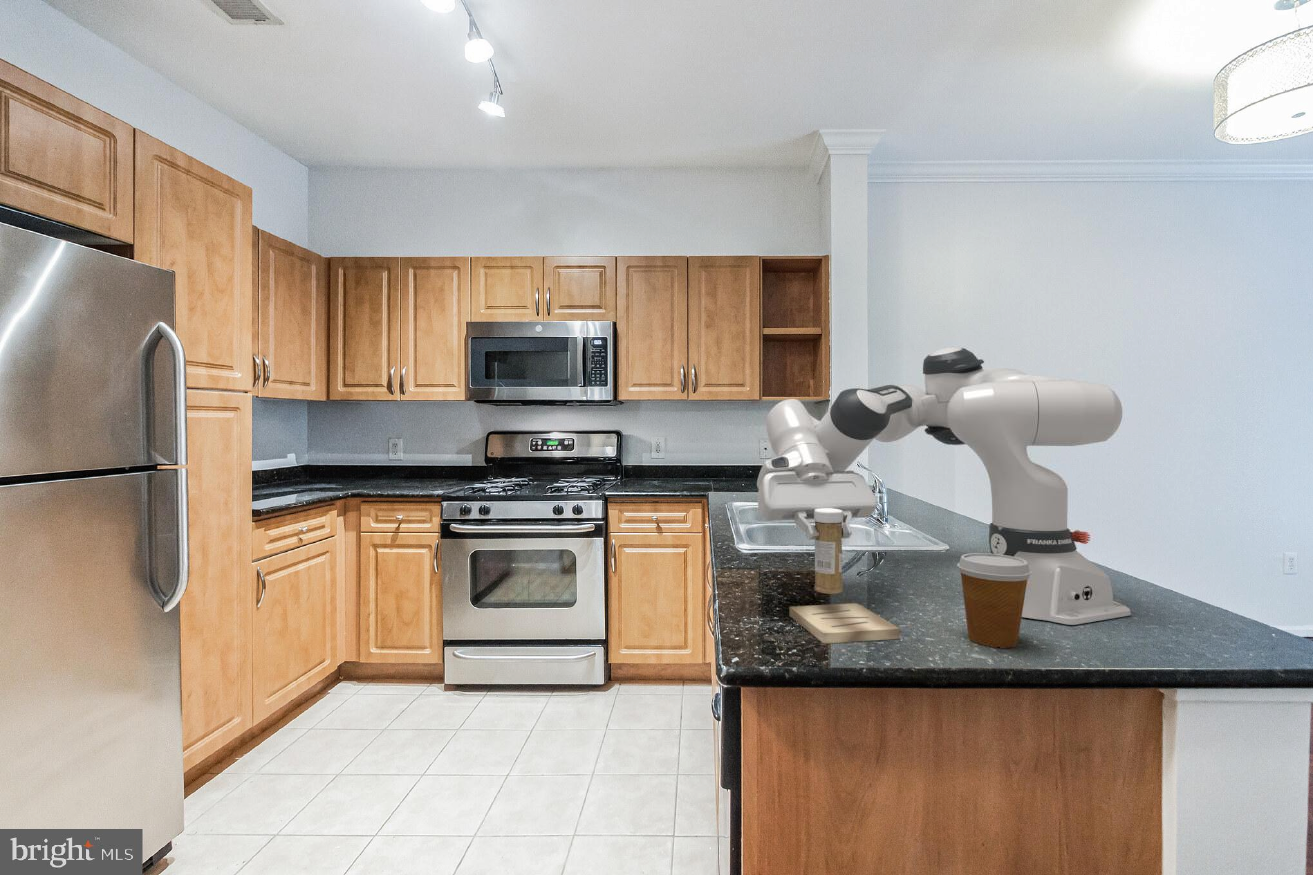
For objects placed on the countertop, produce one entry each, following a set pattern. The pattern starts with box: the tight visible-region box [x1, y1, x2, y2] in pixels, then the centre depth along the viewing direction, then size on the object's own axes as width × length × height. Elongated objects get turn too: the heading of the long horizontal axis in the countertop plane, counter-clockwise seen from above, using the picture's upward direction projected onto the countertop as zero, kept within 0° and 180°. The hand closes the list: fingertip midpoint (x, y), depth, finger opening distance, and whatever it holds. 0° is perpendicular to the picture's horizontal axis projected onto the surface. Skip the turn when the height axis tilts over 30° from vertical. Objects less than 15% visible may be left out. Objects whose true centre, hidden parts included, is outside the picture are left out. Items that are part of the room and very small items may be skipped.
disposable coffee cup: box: [956, 552, 1032, 649], centre depth 90 cm, size 10×10×12 cm
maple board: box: [788, 602, 901, 644], centre depth 96 cm, size 12×13×2 cm
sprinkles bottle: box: [813, 508, 844, 595], centre depth 101 cm, size 5×5×13 cm
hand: (830, 537), depth 100 cm, fingers closed on sprinkles bottle, 4 cm apart
